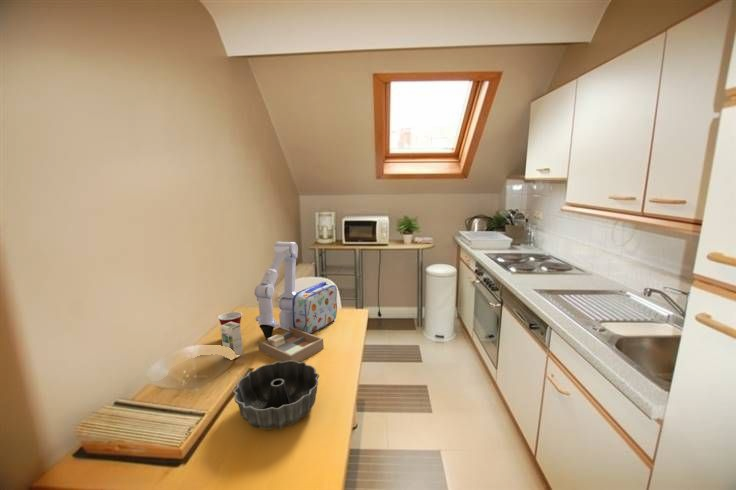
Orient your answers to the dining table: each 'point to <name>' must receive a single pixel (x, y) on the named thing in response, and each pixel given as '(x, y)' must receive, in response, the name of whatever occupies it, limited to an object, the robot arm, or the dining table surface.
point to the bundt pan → (277, 394)
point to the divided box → (293, 346)
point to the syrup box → (232, 337)
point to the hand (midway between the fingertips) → (268, 339)
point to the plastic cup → (230, 317)
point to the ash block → (276, 340)
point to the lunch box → (314, 307)
